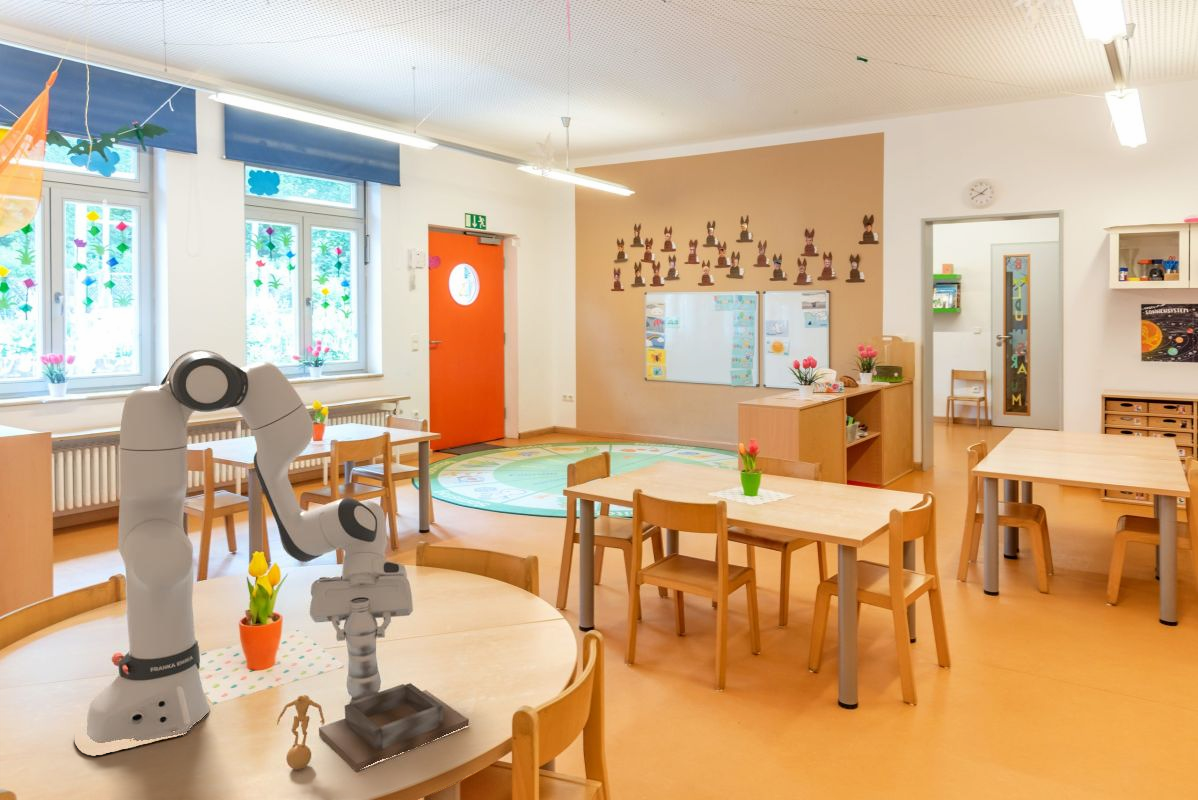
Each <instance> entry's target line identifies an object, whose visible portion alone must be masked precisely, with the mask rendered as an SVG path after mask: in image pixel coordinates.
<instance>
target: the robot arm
mask: <svg viewBox="0 0 1198 800" xmlns="http://www.w3.org/2000/svg"><path fill="white" fill-rule="evenodd" d="M230 408H231V409H232V408H235V409H236V410H237V411H238V412H239V413H240V415H241V416H242V417H243V419H244V421H245V423H246V424H247V426H248V428H249V429H250V431H251V433H252V435H253V437H254V440H255V444H256V451H255V453H254V456H253V464H254V469H255V473H256V475H257V478H258V480H259V483H260V486H261V488H262V491H263V493H264V496H265V498H266V500H267V501H266V502H267V503H268V505H269V507H270V511H271V513H272V516H273V518H274V519H275V523H276V526H277V528H278V532H279V533H278V535H279V538H280V543H281V545H282V548H283V549H284V551H285V553H287V555H289V556H290V557H291V558H293V559H294V560H297V561H299V562H303V563H307V562H310V561H313V560H315V559H317V558H319V557H321V556H323V555H326V554H328V553H331V552H333V551H337V550H339V549H341V550H342V551H343V552H344V555H343V556H344V557H343V558H342V565H341V566H342V568H341V569H342V571H341V575H338V576H336V575H335V576H329V577H327V576H323V577H319V578H318V579H317V580H315V581H313V582H312V584H311V587H310V595H311V597H312V598H311V601H310V606H309V607H310V608H309V616H310V618H311V620H312V621H313V622H314V623H325V622H326V623H328V622H329V623H330V622H331V624H332V626H333V628H334V630H335V631H336V638H335V639H336V640H337V642H342V641H346V638H345V632H344V628H341V627H340V625H341V622H342V621H346V619H347V618H348V616H349V615H350V613H351V611H350V601H351V599H353V598H357V597H367V598H369V600H370V609H369V611H370V612H371V613H372V614H373V616H374V617H375V619H381V618H382V619H383V622H382V624H381V625H380V626H377V638H376V639H378V638H385V637H386V630H387V628H389V625H390V624H391V623H392V618H393V617H407V616H410V615H411V614H412V613H413V612H414V602H413V594H412V590H411V589H412V588H411V584H410V581H409V579H408V573H407V572H408V571H407V569H406V567H405V565H404V564H402V563H398V562H396V561H395V562H393V561H389V560H386V555H385V550H386V547H387V542H388V541H387V537H388V535H387V531H388V530H387V521H386V520H387V519H386V516H385V512H384V509H383V508H382V507H381V505H379V504H378V503H376V502H374V501H370V500H357V499H355V498H352V497H345V498H340V499H337V500H334V501H332V502H328V503H326V504H323V505H322V506H319V507H316V508H313V509H310V510H305V509H302V507H301V506H300V503H299V502H298V499H297V496H296V494H295V491H294V489H293V486H292V484H291V482H290V479H289V474H288V473H289V468H290V466H291V464H292V463H294V461H295V460H296V459H297V458H298V457H299V456H300V455H302V453H303V452H304V451H305V450H306V449H307V448H308V446H309V445H310V443H311V442H312V438H313V436H314V428H315V425H314V422H313V419H312V416H311V414H310V413H309V411H308V409H307V406H306V405H305V403H304V401H303V400H302V398H301V397H300V395H299V393H298V392H297V390H296V388H294V386H293V385H292V384H291V382H290V381H289V380H288V378H287V377H286V376H285V375H284V373H283V372H282V371H281V370H280V369H279V367H277V366H276V365H275V364H273V363H271V362H268V361H267V362H266V361H259V362H254V363H253V362H252V363H251V364H248V365H246V366H244V367H238V366H237V365H235V364H233V363H231V362H229V361H228V360H227V359H226V358H224V356H222V355H221V354H219V353H217V352H214V351H211V350H208V349H207V350H205V349H195V350H190V351H187V352H186V353H183V354H182V355H180V356H179V357H178V358H177V359H176V360H175V361H174V362H173V363H172V365H171V366H170V368H169V370H168V371H167V373H166V374H165V377H164V378H163V379H162V381H161V383H160V385H150V386H144V387H143V386H142V387H139V388H137V389H135V390H133V391H132V392H130V393H129V394H128V395H127V397H126V398H125V401H124V405H123V409H122V415H121V420H120V432H119V470H120V471H119V475H120V476H119V478H120V479H119V480H120V481H119V482H120V483H119V484H120V490H119V491H120V492H119V507H118V508H119V509H118V531H117V533H118V535H117V536H118V537H117V538H118V539H117V542H118V544H117V547H118V550H119V553H120V554H119V555H120V556H121V558H122V561H123V564H124V568H125V569H124V570H125V577H126V578H125V580H126V581H125V582H126V620H127V621H126V622H127V634H128V645H129V651H128V652H127V653H126V654H125V655H124V654H122V652H115V653H114V654H113V655H112V656H111V662H112V663H113V665H114V666H116V667H118V675H117V676H116V677H115V678H114V679H113V680H112V681H110V683H108V684H107V686H105V687H104V688H103V689H102V690H100V692H98V693H97V694H96V695H95V696H94V697H93V698H92V700H91V701H90V703H89V707H88V710H87V718H86V721H87V735H88V736H89V737H90V739H92V740H93V741H95V742H97V743H105V742H111V741H114V740H115V741H116V740H122V739H132V738H134V739H133V740H136V741H139V740H141V741H143V740H150V739H156V738H161V737H166V736H167V737H168V736H173V735H178V734H182V733H183V734H184V733H186V732H187V731H188V730H189V729H190V727H191V726H192V725H193V724H194V723H195V722H197V721H198V720H200V719H201V718H203V717H204V716H205V715H206V714H207V713H208V714H209V712H210V710H211V707H210V704H209V702H208V700H207V697H206V694H205V692H204V689H203V684H202V680H201V676H200V671H199V669H200V664H201V656H200V655H201V654H200V653H201V652H200V647H199V644H198V640H197V639H196V634H195V631H196V630H195V619H194V608H193V607H194V606H193V603H194V602H193V598H194V597H193V594H194V575H195V574H194V565H195V564H194V548H193V544H192V541H191V540H190V538H189V537H188V535H186V533H185V529H184V514H185V513H184V512H185V503H186V495H187V489H188V423H189V420H190V417H191V416H192V414H194V413H195V412H201V413H210V412H216V411H221V410H225V409H230ZM208 714H207V715H208ZM207 715H206V716H207ZM206 716H205V717H206ZM205 717H204V718H205ZM204 718H203V719H204ZM192 727H193V726H192ZM190 730H191V729H190ZM173 731H175V732H173ZM130 741H131V740H130Z"/></svg>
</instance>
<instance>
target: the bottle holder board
mask: <svg viewBox="0 0 1198 800" xmlns="http://www.w3.org/2000/svg"><path fill="white" fill-rule="evenodd" d="M468 725H469V726H470V724H469V719H468V718H467V717H466V716H465V715H462V714H461V713H460V712H459V711H457V710H456V709H454V708H453V707H451V706H450V705H448V704H447V703H446V702H444V701H443V700H441V699H440V698H438V697H437V696H435V695H434V694H433V693H431V692H430V691H428V690H427V689H425V690H421V689H419V687H416V686H415V685H414V684H412V683H411V682H410V683H407V684H404V683H402V684H399V685H396V686H393V687H390V688H387V689H384V690H381V691H378V693H375V694H372V695H369V696H367V697H364V698H361V699H355V700H353V701H349V702H348V704H346V705H344V718H342V719H339V720H336V721H333V722H331V723H329V724H324V725H322V726H320V727H318V735H319V737H320V738H321V739H322V740H323V741H324V742H325V743H326V744H327V745H329V747H331V749H333V750H334V751H335V752H336V753H337V754H338V756H339V757H341V758H342V759H343V761H345V762H346V763H347V764H348V765H349V766H350V767H351V769H353V770H354V769H355V770H356V771H358V772H360V771H359V770H360V769H362V768H364V767H366V766H368V765H371V764H373V763H375V762H377V761H380V760H382V759H386V758H390V757H392V756H394V755H398V754H400V753H402V752H406V751H408V750H411V749H413V750H415V749H414V748H416V747H418V748H420V747H419V746H421V745H423V744H425V743H428V742H431V741H433V740H435V739H437V738H440V737H442V736H444V735H446V734H449V733H451V732H453V731H456V730H458V729H461V728H463V727H465V726H468ZM433 742H434V741H433ZM431 743H432V742H431ZM428 744H429V743H428ZM423 746H424V745H423ZM421 747H422V746H421ZM416 749H417V748H416ZM411 751H412V750H411ZM408 752H409V751H408ZM406 753H407V752H406ZM398 756H399V755H398ZM355 770H354V771H355ZM356 771H355V772H356Z"/></svg>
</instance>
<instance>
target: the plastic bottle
mask: <svg viewBox="0 0 1198 800" xmlns="http://www.w3.org/2000/svg"><path fill="white" fill-rule="evenodd" d="M369 609H370V600H369V598H367V597H357V598H353V599H351V601H350V611H351V613H350V615H349V616H348V618H347V619H346V620H344V623H343V624H344V625H343V629H344V632H345V642H346V647H347V653H348V654H347V656H348V661H347V662H348V664H347V665H348V666H347V676H346V689H347V693H348V694H349V696H351V698H353V699H355V700H358V699H361V698H364V697H367V696H369V695H372V694H375V693H378V692H380V690H381V683H382V681H381V675H380V671H379V667H378V659H377V639H378V638H377V627H378V621H377V618H375V617H374V616H373V614H372V613H371V612H370V611H369Z"/></svg>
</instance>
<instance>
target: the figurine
mask: <svg viewBox="0 0 1198 800" xmlns="http://www.w3.org/2000/svg"><path fill="white" fill-rule="evenodd" d="M293 706H295V710H296V712H297V715H294V716H293V724H292V727H291V733H292V734H293V735H294V736H295V737H294V742H293V745H292V746H291V747H290V749H289V750H288V751H287V752H286V753H287V754H286V763H287V765H288V766H289V767H290V768H291V769H293V770H301V769H304V768H306V767H307V766H308V765H309V763H310V762H311V760H312V752H311V751H312V750H311V748H309V747H308V746H307V745H306V741H307V735H308V731H307V729H308V726H309V722H310V716H309V715H307V713H308V709H309V707H310V706H312V707H315V708H317V709H318V712H319V715H320V718H321V720H320V722H319V723H321V726H320V727H322V726H325V717H324V713H323V709H322V705H320V704H319V703H317V702H315V701H313V700H312V699H310V697H309V695H306V694H302V695H298V697H297V698H296V699H295V700H292V701H290V702H289V703H287V704H285V705H284V707H283V709H282V711H281V712H280V714H279V716H278V719H277V723H276V725H277V726H278V725H279V723H280V721H281V720H280V719H282V717H283V716H284V714H285V712H286V711H287V709H288V708H289V707H293ZM300 723H301V724H300ZM300 726H301V731H302V735H303V738H302V742H301V743H299V744H298V741H299V732H298V731H297V729H298V728H299V727H300Z"/></svg>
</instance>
